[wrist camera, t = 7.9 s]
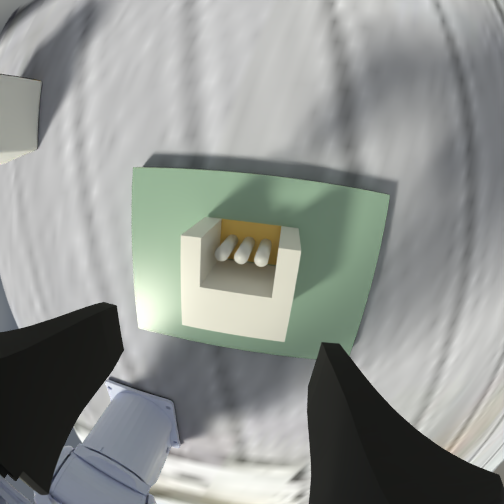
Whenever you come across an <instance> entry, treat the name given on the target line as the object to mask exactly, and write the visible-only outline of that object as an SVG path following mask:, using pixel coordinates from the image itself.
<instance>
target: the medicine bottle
mask: <svg viewBox="0 0 504 504" xmlns="http://www.w3.org/2000/svg"><path fill="white" fill-rule="evenodd" d="M41 86H42V82H41V81H40V80H35V79H30V78H24V77H18V76H12V75H5V74H0V165H1V164H5V163H7V162H9V161H12V160H14V159H16V158H19V157H21V156H23V155H26V154H28V153H31V152H33V151H35V150H36V149H37V140H38V117H39V104H40V94H41Z"/></svg>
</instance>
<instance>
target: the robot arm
mask: <svg viewBox="0 0 504 504" xmlns="http://www.w3.org/2000/svg"><path fill="white" fill-rule="evenodd" d="M123 351H124V348H123V342H122V337H121V331H120V325H119V318H118V312H117V306H116V305H113V304H109V303H105V302H102V303H98V304H94V305H91V306H88V307H85V308H82V309H79V310H76V311H73V312H71V313H68V314H65V315H62V316H59V317H57V318H54V319H51V320H47V321H44V322H41V323H38V324H35V325H32V326H28V327H24V328H20V329H16V330H11V331H7V332H0V504H6V502H8V503H9V504H33V503H32V502H31V501H30V500H28V499H27V498H26V497H25V496H23V495H22V494H21V493H20V492H19V491H17V490H16V489H15V488H14V487H13V486H12V485H11V484H9V483H8V482H7V481H6V480H5V479H4V478H5V477H6V475H7V474H8V475H9V476H10V477H11V478H12V479H13V480H15V481H17V479H18V478H20V479H21V480H22V481H23V482H24V483H26V484H27V485H28V486H29V487H31V488H32V489H33V490H34V495H35V496H34V500H35V503H36V504H62V503H63V504H156V501H155V499H154V496H153V495H152V494H149V493H148V492H149V490H150V488H151V486H152V485H154V484H155V483H156V481H157V480H158V477H159V475H160V473H161V470H162V468H163V466H164V463H165V461H166V458H167V456H168V454H169V451H170V449H171V447H175V448H180V440H179V434H178V428H177V422H176V416H175V409H174V403H173V402H172V401H171V400H169V399H165V398H162V397H158V396H155V395H152V394H149V393H145V392H142V391H139V390H136V389H133V388H130V387H128V386H125V385H122V384H119V383H117V382H114V381H111V380H106V379H107V377H108V376H109V375H110V373H111V372H112V371H113V369H114V367H115V365H116V364H117V362H118V360H119V358H120V356H121V354H122V352H123ZM105 380H106V382H105V384H106V387H107V390H108V393H109V396H110V399H111V403H110V404H109V405H108V407H107V408H106V410H105V411H104V413H103V414H102V415H101V417H100V418H99V420H98V421H97V423H96V424H95V426H94V427H93V428H92V430H91V431H90V433H89V434H88V436H87V437H86V439H85V440H84V442H83V443H82V445H81V444H78V446H77V447H76V448H75V449H74V448H72V447H71V446H64V445H65V442H66V440H67V438H68V436H69V434H70V432H71V430H72V428H73V426H74V424H75V422H76V421H77V419H78V417H79V415H80V414H81V412H82V411H83V409H84V408H85V407H86V405H87V404H88V403H89V401H90V400H91V399H92V397H93V396H94V395H95V393H96V392H97V391H98V389H99V388H100V387H101V385H102V384H103V383H104V381H105ZM307 416H308V429H309V442H310V456H311V486H310V498H309V504H504V487H503V484H502V481H501V478H500V476H499V475H498V474H495V473H493V472H490V471H487V470H485V469H482V468H480V467H477V466H475V465H472V464H470V463H468V462H466V461H464V460H462V459H460V458H459V457H457V456H455V455H453V454H451V453H450V452H448V451H446V450H445V449H443V448H441V447H440V446H438V445H437V444H436V443H434V442H433V441H431V440H430V439H428V438H427V437H426V436H424V435H423V434H422V433H420V432H419V431H418V430H417V429H415V428H414V427H413V426H412V425H411V424H410V423H408V422H407V421H406V420H405V419H404V418H403V417H402V416H401V415H399V414H398V413H397V412H396V411H395V410H394V409H393V408H392V407H391V406H390V405H389V404H388V402H387V401H386V400H385V399H384V398H383V397H382V396H381V395H380V394H379V393H378V392H377V390H376V389H375V388H374V387H373V386H372V385H371V383H370V382H369V381H368V380H367V379H366V377H365V376H364V375H363V374H362V372H361V371H360V370H359V368H358V367H357V366H356V364H355V363H354V362H353V361H352V359H351V358H350V357H349V355H348V354H347V353H346V351H345V350H344V349H343V347H342V346H341V345H340V344H339V343H328V342H321V346H320V349H319V353H318V356H317V359H316V363H315V366H314V369H313V373H312V376H311V379H310V382H309V385H308V402H307Z"/></svg>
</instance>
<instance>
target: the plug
mask: <svg viewBox="0 0 504 504" xmlns="http://www.w3.org/2000/svg"><path fill="white" fill-rule="evenodd" d="M221 221H222V219H220V218H211V217H204V218H203V219H202V220H200V221H199V222H198V223H196V224H195V225H194V226H192V227H191V228H190V229H188V230H187V231H186V232H184V233H183V234H182V235H181V257H180V259H181V312H182V325H185V326H190V327H195V328H200V329H205V330H210V331H216V332H221V333H227V334H233V335H239V336H245V337H252V338H258V339H265V340H273V341H280V342H285V338H286V333H287V328H288V323H289V318H290V312H291V307H292V302H293V296H294V291H295V285H296V280H297V274H298V268H299V262H300V256H301V244H300V235H299V228H293V227H285V226H281V233H280V241H279V248H278V256H277V263H276V266H271V265H266V266H264V267H259V266H257V265H256V264H255V263H249V262H246V263H244V264H238V263H237V262H236V261H235V260H228V259H226V260H225V261H218V260H217V259H216V258H215V251H216V250H217V248H218V247H219V246H220V237H221Z"/></svg>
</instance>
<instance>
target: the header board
mask: <svg viewBox="0 0 504 504" xmlns="http://www.w3.org/2000/svg"><path fill="white" fill-rule="evenodd" d="M389 198H390V195H388V194H384V193H380V192H375V191H370V190H364V189H359V188H353V187H348V186H342V185H336V184H330V183H324V182H317V181H310V180H303V179H296V178H288V177H280V176H271V175H262V174H253V173H242V172H231V171H219V170H204V169H186V168H161V167H133V179H132V256H133V274H134V288H135V300H136V310H137V319H138V327H139V328H140V329H144V330H148V331H152V332H156V333H160V334H164V335H168V336H173V337H177V338H182V339H186V340H191V341H196V342H200V343H205V344H211V345H216V346H221V347H227V348H233V349H239V350H245V351H251V352H258V353H265V354H272V355H280V356H288V357H297V358H307V359H317V356H318V353H319V349H320V346H321V342H328V343H339V344H340V345H341V346H342V347H343V349H344V350H345V351H346V353H347V354H348V355H350V352H351V349H352V347H353V344H354V341H355V338H356V335H357V332H358V329H359V325H360V322H361V319H362V316H363V313H364V309H365V306H366V302H367V299H368V295H369V292H370V288H371V284H372V280H373V276H374V272H375V268H376V264H377V260H378V256H379V251H380V247H381V242H382V237H383V232H384V227H385V222H386V216H387V211H388V205H389ZM204 217H211V218H220V219H222V221H221V237H220V246H219V247H218V248H217V250H216V251H215V258H216V259H217V260H218V261H225V260H226V259H228V260H235V261H236V262H237V263H238V264H244V263H246V262H249V263H255V264H256V265H257V266H259V267H264V266H266V265H271V266H276V263H277V256H278V248H279V241H280V233H281V226H285V227H293V228H299V235H300V244H301V256H300V262H299V268H298V274H297V280H296V285H295V291H294V296H293V302H292V307H291V312H290V318H289V323H288V328H287V333H286V338H285V342H280V341H273V340H265V339H258V338H252V337H245V336H239V335H233V334H227V333H221V332H216V331H210V330H205V329H200V328H195V327H190V326H185V325H182V312H181V259H180V257H181V235H182V234H183V233H184V232H186V231H187V230H188V229H190V228H191V227H192V226H194V225H195V224H196V223H198V222H199V221H200V220H202V219H203V218H204Z"/></svg>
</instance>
